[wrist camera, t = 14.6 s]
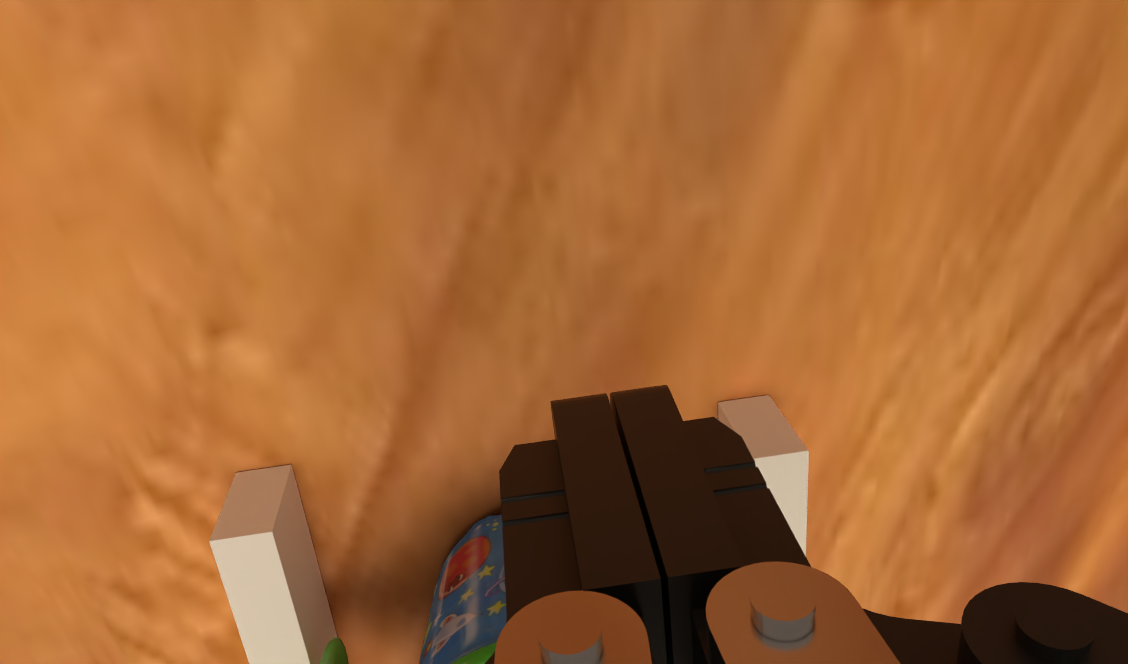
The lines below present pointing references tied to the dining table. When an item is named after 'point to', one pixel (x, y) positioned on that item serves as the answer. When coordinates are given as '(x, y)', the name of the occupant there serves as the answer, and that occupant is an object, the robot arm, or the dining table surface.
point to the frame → (290, 569)
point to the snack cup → (461, 602)
